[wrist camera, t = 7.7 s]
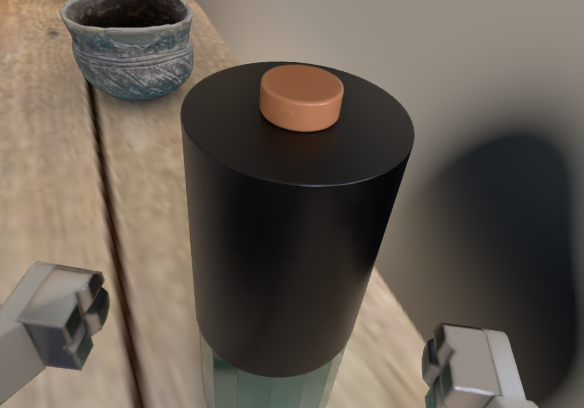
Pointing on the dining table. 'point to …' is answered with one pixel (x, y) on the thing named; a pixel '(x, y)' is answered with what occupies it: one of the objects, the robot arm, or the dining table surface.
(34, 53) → the dining table surface
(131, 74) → the mug
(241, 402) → the glass
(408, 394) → the dining table surface
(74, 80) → the dining table surface
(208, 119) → the black canister with knob
